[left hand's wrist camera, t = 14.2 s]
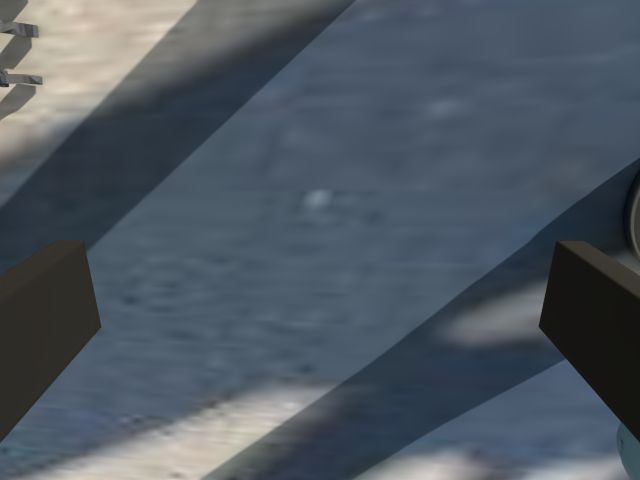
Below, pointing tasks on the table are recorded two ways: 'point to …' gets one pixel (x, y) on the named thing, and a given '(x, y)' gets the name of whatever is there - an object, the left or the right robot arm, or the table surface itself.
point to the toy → (3, 78)
